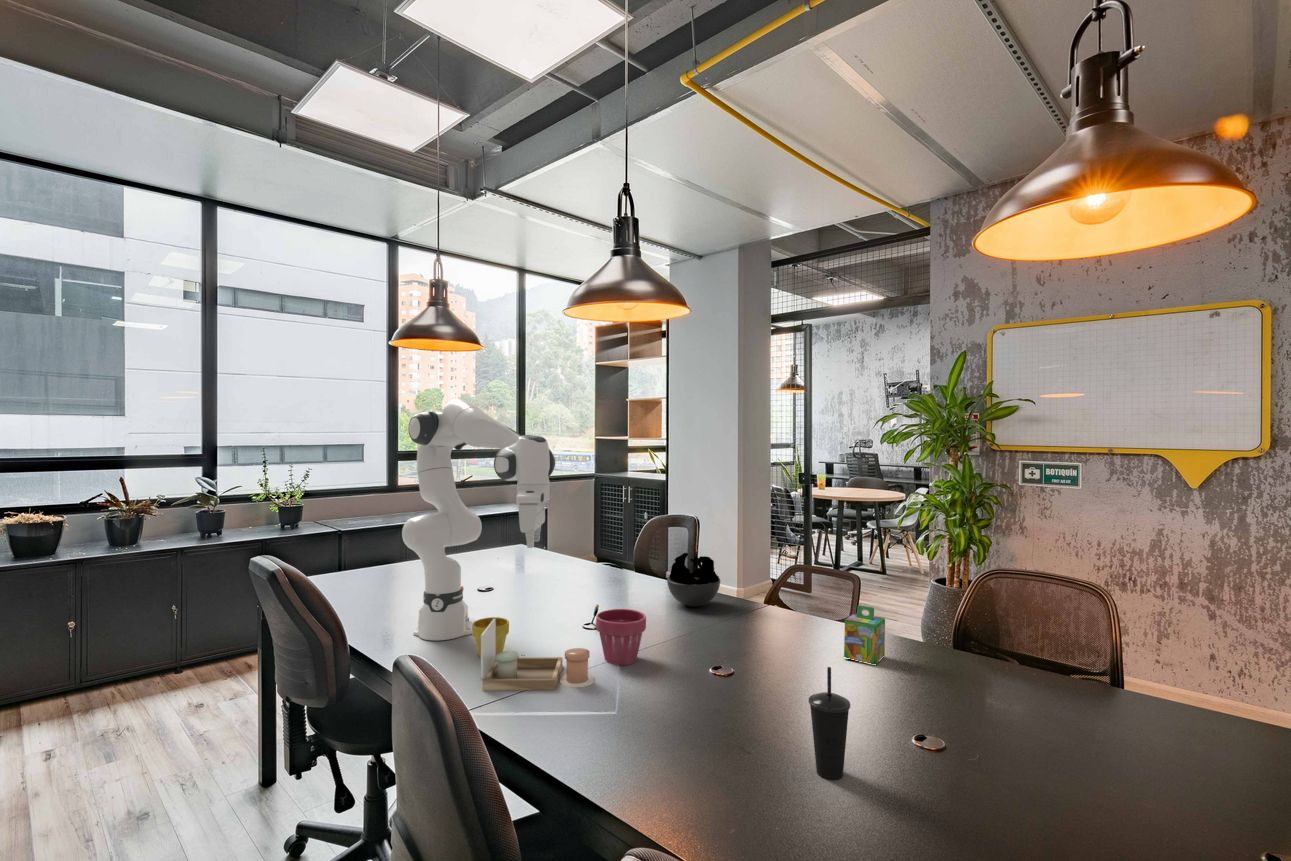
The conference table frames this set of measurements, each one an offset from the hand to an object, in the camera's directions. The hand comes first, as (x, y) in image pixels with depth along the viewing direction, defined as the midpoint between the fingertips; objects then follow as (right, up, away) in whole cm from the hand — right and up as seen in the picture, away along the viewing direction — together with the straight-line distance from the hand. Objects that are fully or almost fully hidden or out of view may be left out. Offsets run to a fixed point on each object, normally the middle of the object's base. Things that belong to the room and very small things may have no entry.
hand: (533, 544), depth 171 cm
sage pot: (-5, -34, -8) cm, 35 cm away
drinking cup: (+66, -34, -53) cm, 91 cm away
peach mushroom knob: (+13, -33, -10) cm, 37 cm away
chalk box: (+94, -34, +7) cm, 100 cm away
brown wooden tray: (-1, -34, -8) cm, 35 cm away
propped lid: (-10, -32, -8) cm, 34 cm away
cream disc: (+13, -34, -10) cm, 38 cm away
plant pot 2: (+24, -34, +6) cm, 42 cm away
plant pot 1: (-14, -34, +10) cm, 38 cm away
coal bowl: (+49, -35, +63) cm, 87 cm away
